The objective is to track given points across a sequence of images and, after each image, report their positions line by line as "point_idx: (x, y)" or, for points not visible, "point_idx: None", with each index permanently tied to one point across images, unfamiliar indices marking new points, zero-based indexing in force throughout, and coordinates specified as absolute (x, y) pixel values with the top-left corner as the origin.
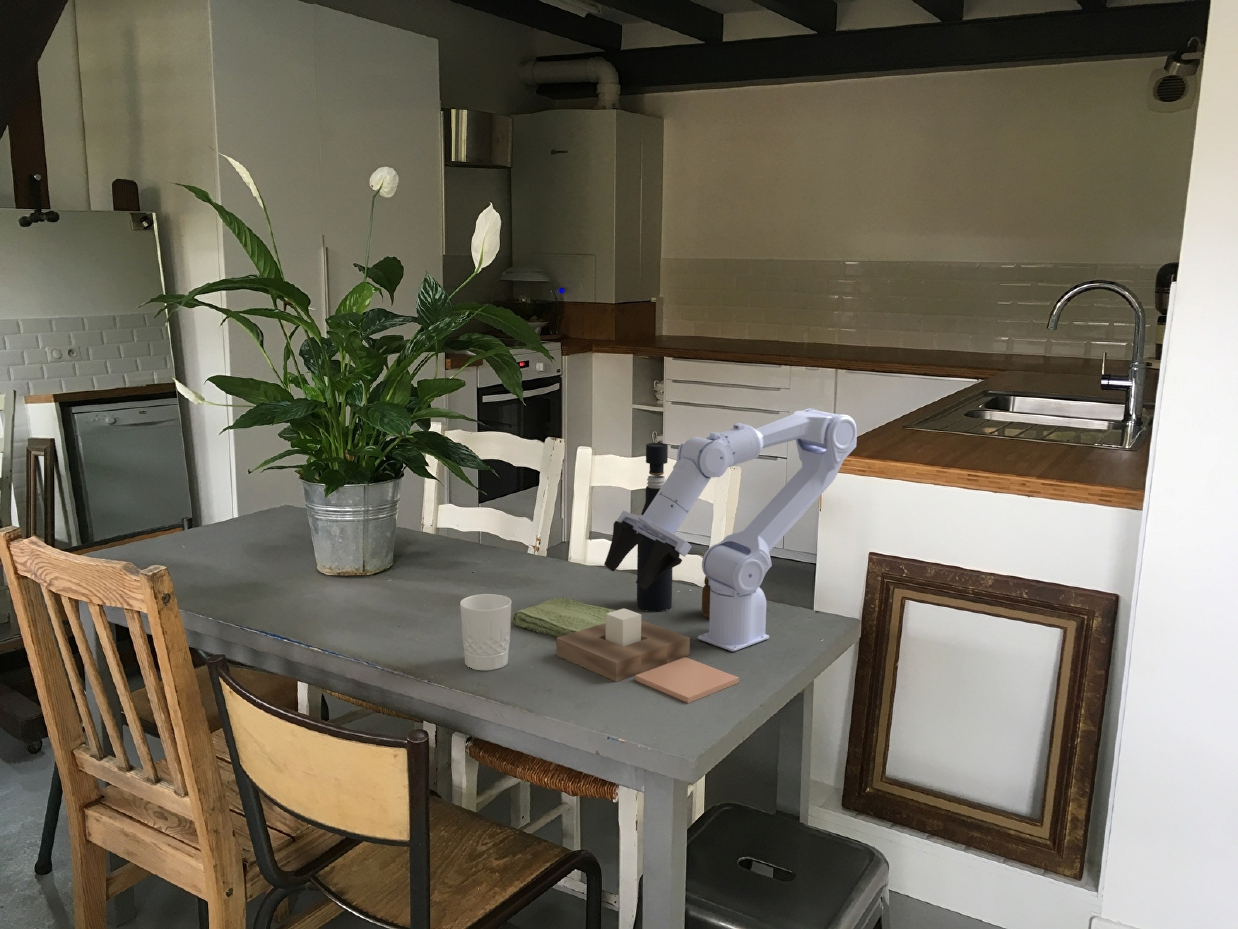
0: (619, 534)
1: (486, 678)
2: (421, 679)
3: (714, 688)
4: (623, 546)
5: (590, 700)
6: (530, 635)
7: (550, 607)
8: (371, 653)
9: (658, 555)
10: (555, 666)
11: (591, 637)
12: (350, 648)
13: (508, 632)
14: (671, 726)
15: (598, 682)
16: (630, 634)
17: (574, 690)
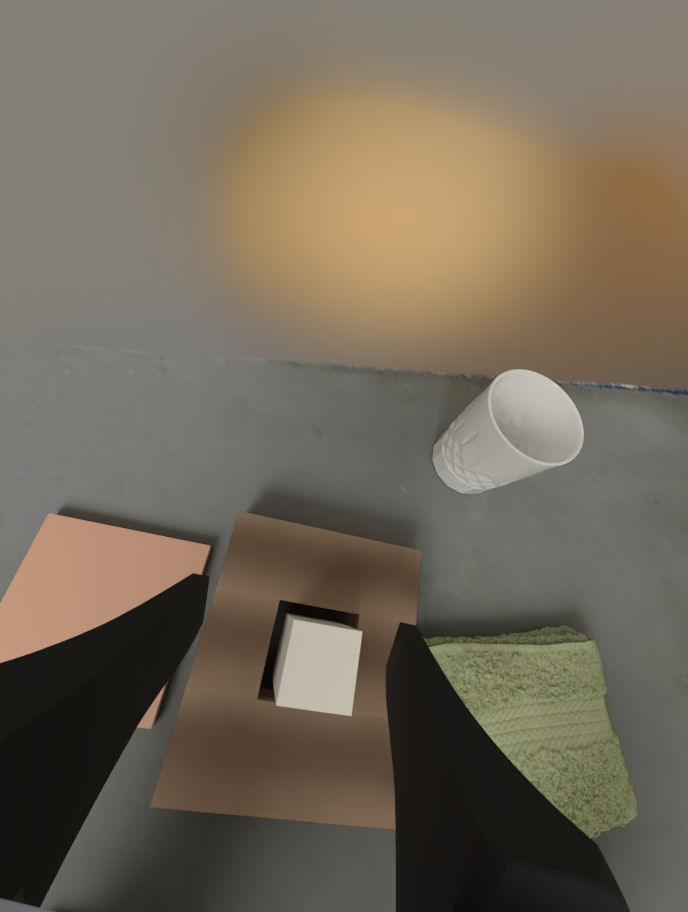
0: (459, 768)
1: (418, 418)
2: (474, 375)
3: (4, 598)
4: (414, 777)
5: (238, 432)
6: (512, 609)
7: (579, 724)
8: (582, 407)
9: (17, 660)
10: (374, 513)
11: (370, 602)
12: (610, 406)
13: (462, 450)
14: (53, 416)
15: (269, 499)
16: (283, 645)
17: (284, 450)
